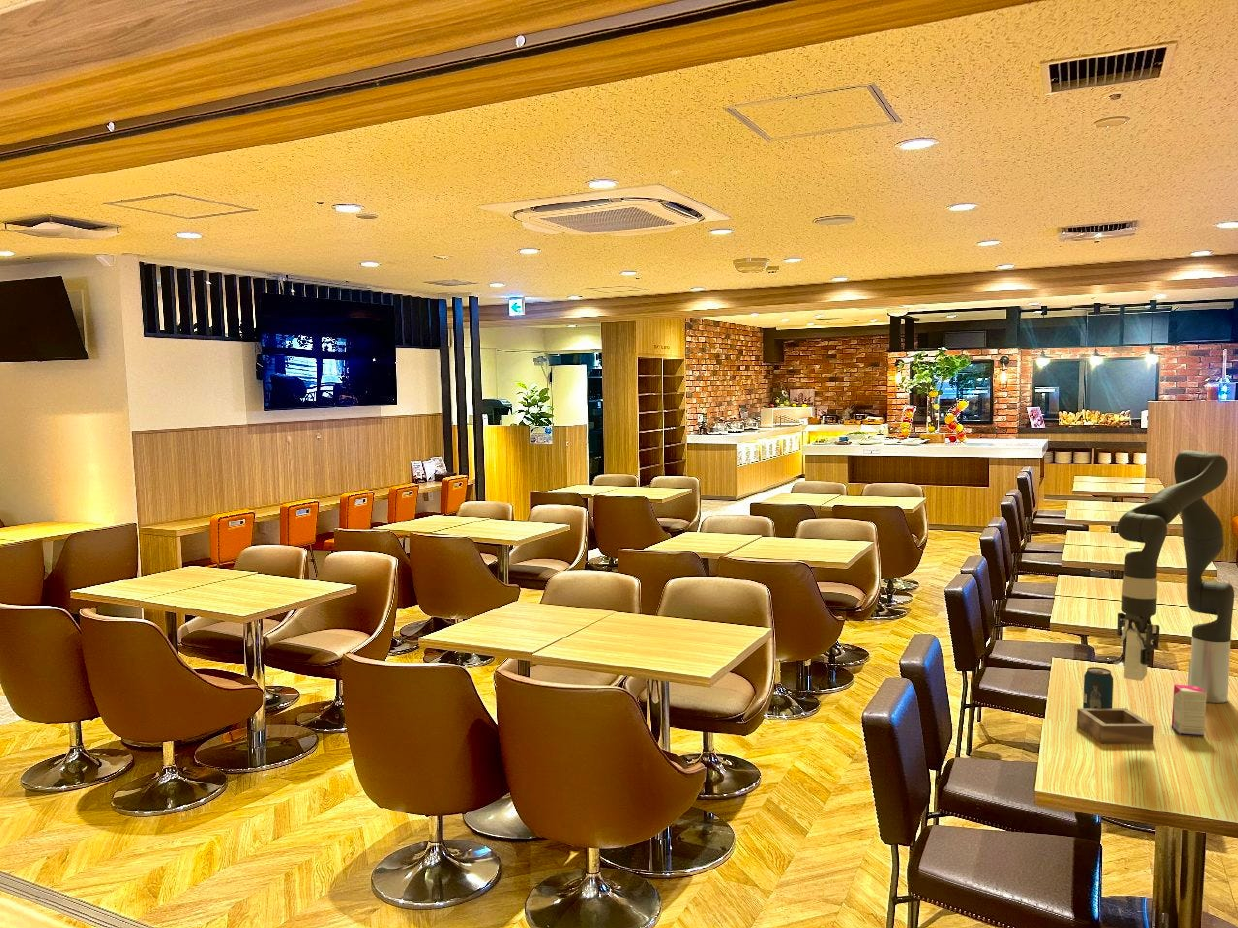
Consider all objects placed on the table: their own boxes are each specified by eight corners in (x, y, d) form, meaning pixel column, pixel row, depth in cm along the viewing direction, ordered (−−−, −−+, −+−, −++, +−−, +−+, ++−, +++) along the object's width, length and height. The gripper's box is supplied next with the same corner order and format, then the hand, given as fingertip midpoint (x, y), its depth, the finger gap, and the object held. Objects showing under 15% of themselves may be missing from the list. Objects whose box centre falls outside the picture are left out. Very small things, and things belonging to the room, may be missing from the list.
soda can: (1105, 709, 254) (1107, 666, 253) (1116, 718, 247) (1118, 674, 246) (1078, 709, 254) (1080, 666, 253) (1089, 718, 247) (1090, 673, 246)
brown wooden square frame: (1076, 725, 242) (1077, 708, 242) (1125, 724, 242) (1125, 708, 242) (1102, 743, 230) (1102, 725, 229) (1153, 743, 230) (1153, 725, 229)
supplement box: (1205, 737, 234) (1207, 692, 233) (1179, 735, 235) (1181, 691, 234) (1195, 728, 239) (1198, 685, 238) (1170, 727, 241) (1172, 683, 240)
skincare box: (1128, 672, 236) (1130, 625, 235) (1148, 675, 233) (1150, 628, 232) (1123, 678, 231) (1125, 630, 230) (1143, 681, 228) (1145, 633, 227)
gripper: (1172, 600, 223) (1168, 668, 225) (1137, 588, 238) (1134, 651, 239) (1141, 600, 223) (1138, 668, 224) (1108, 588, 237) (1105, 651, 239)
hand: (1136, 659), depth 232 cm, fingers closed on skincare box, 7 cm apart
